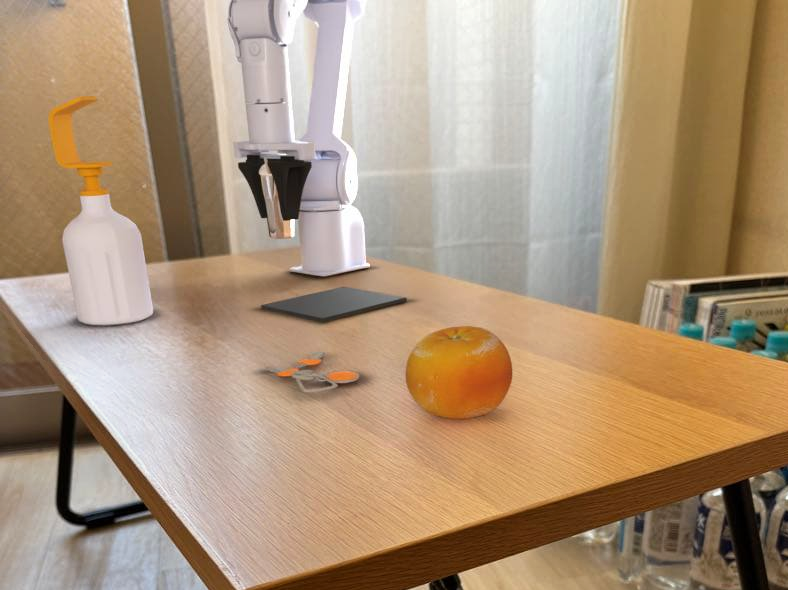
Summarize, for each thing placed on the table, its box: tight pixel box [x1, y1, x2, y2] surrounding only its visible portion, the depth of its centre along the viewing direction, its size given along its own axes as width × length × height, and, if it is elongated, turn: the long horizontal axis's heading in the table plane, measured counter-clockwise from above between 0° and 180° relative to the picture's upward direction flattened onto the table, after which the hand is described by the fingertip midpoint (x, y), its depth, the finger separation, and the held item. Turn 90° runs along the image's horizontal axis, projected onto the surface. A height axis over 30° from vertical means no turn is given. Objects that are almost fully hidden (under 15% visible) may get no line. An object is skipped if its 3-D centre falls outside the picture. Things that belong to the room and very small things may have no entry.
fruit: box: [405, 325, 513, 420], centre depth 73 cm, size 8×8×8 cm
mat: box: [260, 286, 408, 323], centre depth 113 cm, size 14×12×1 cm
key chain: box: [265, 351, 360, 393], centre depth 85 cm, size 13×7×1 cm, turn 24°
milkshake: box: [259, 158, 295, 240], centre depth 116 cm, size 4×5×10 cm
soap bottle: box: [48, 95, 154, 327], centre depth 105 cm, size 9×9×25 cm
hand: (279, 218), depth 117 cm, fingers closed on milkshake, 4 cm apart
